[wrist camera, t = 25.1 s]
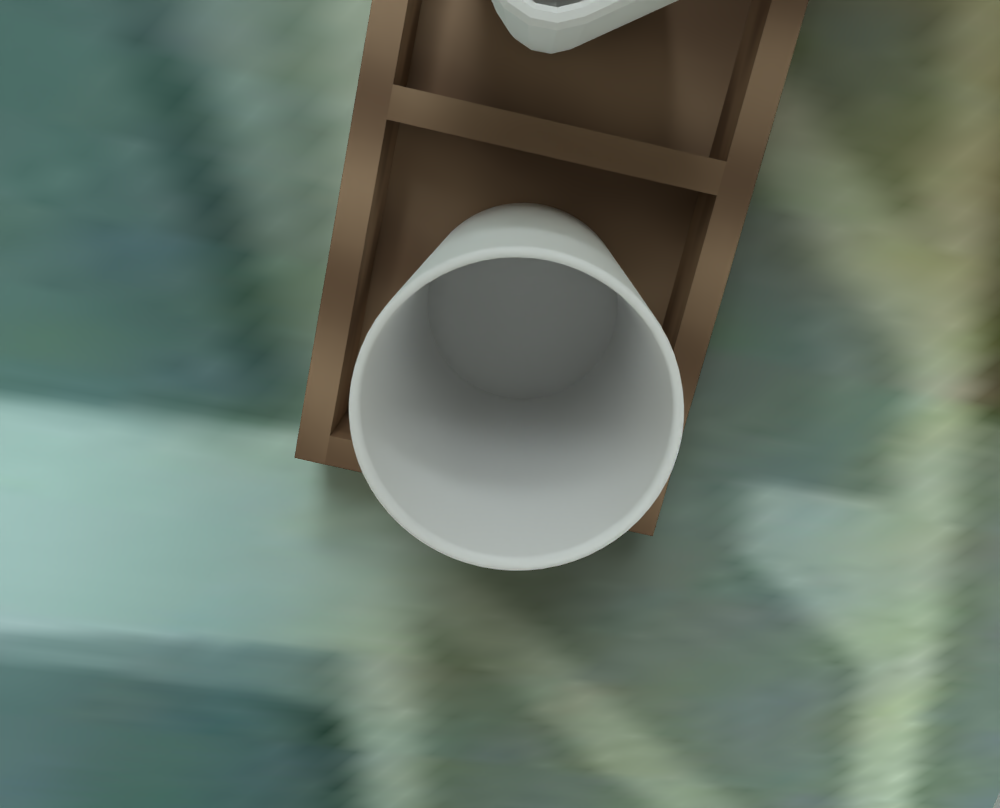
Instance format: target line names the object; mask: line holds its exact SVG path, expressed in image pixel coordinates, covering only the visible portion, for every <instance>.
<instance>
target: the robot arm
mask: <svg viewBox="0 0 1000 808" xmlns="http://www.w3.org/2000/svg"><path fill="white" fill-rule="evenodd" d="M993 808H1000V793H999V795H998V797H997V800H996V802H995V804H994V807H993Z"/></svg>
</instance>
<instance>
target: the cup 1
mask: <svg viewBox="0 0 1000 808" xmlns="http://www.w3.org/2000/svg"><path fill="white" fill-rule="evenodd" d="M491 1H492V3H493V5H494V7H495V10H496V12H497V14H498V15H499V17H500V18H501V20H502V22H503V23H504V25H505V26H506V28H507V29H508V31H509V32H510V34H511V35H512V36H513V37H514V38H515V39H516V40H518V41H519V42H520V43H522V44H523V45H525V46H526V47H528V48H529V49H531V50H534V51H539V52H544V53H549V54H553V53H557V52H561V51H566V50H570V49H573V48H575V47H577V46H579V45H581V44H584V43H586V42H588V41H590V40H592V39H595V38H597V37H599V36H601V35H603V34H606V33H608V32H610V31H612V30H614V29H616V28H619V27H621V26H623V25H625V24H627V23H630V22H632V21H634V20H636V19H638V18H641V17H643V16H645V15H647V14H649V13H651V12H654V11H656V10H658V9H660V8H662V7H665V6H667V5H669V4H671V3H673V2H676V1H678V0H491Z"/></svg>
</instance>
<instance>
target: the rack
mask: <svg viewBox="0 0 1000 808" xmlns="http://www.w3.org/2000/svg"><path fill="white" fill-rule="evenodd" d="M808 1H809V0H678V1H676V2H673V3H671V4H669V5H667V6H665V7H662V8H660V9H658V10H656V11H654V12H651V13H649V14H647V15H645V16H643V17H641V18H638V19H636V20H634V21H632V22H630V23H627V24H625V25H623V26H621V27H619V28H616V29H614V30H612V31H610V32H608V33H606V34H603V35H601V36H599V37H597V38H595V39H592V40H590V41H588V42H586V43H584V44H581V45H579V46H577V47H575V48H573V49H570V50H566V51H561V52H557V53H553V54H549V53H544V52H539V51H534V50H531V49H529V48H528V47H526V46H525V45H523V44H522V43H520V42H519V41H518V40H516V39H515V38H514V37H513V36H512V35H511V34H510V32H509V31H508V29H507V28H506V26H505V25H504V23H503V22H502V20H501V18H500V17H499V15H498V14H497V12H496V10H495V7H494V5H493V3H492V1H491V0H372V4H371V10H370V16H369V22H368V27H367V33H366V39H365V45H364V51H363V57H362V63H361V69H360V75H359V80H358V86H357V92H356V98H355V104H354V110H353V116H352V122H351V128H350V133H349V139H348V145H347V151H346V157H345V163H344V169H343V175H342V181H341V187H340V192H339V198H338V204H337V210H336V216H335V222H334V228H333V234H332V240H331V245H330V251H329V257H328V263H327V269H326V275H325V281H324V287H323V293H322V298H321V304H320V310H319V316H318V322H317V328H316V334H315V340H314V346H313V352H312V357H311V363H310V369H309V375H308V381H307V387H306V393H305V399H304V405H303V410H302V416H301V422H300V428H299V434H298V440H297V446H296V452H295V458H298V459H303V460H307V461H312V462H316V463H321V464H325V465H330V466H335V467H339V468H344V469H348V470H353V471H357V472H362V470H361V468H360V465H359V463H358V460H357V457H356V454H355V450H354V447H353V442H352V437H351V432H350V422H349V395H350V387H351V380H352V376H353V371H354V367H355V364H356V361H357V358H358V355H359V352H360V349H361V346H362V344H363V342H364V340H365V337H366V335H367V333H368V331H369V330H370V328H371V326H372V325H373V323H374V321H375V320H376V318H377V317H378V315H379V314H380V313H381V311H382V310H383V309H384V307H385V306H386V305H387V304H388V302H389V301H390V300H391V299H392V298H393V297H394V296H395V294H396V293H397V292H398V291H399V290H400V289H401V288H402V286H403V285H404V284H405V283H406V282H407V281H408V280H409V279H410V277H411V276H412V275H413V274H414V273H415V272H416V271H417V270H418V268H419V267H420V266H421V265H422V264H423V263H424V262H425V261H426V260H427V258H428V257H429V256H430V255H431V254H432V253H433V252H434V251H435V249H436V248H437V247H438V246H439V245H440V244H441V243H442V242H443V240H444V239H445V238H446V237H447V236H448V235H449V234H450V233H451V232H452V231H453V230H454V229H455V228H456V227H457V226H458V225H460V224H461V223H462V222H464V221H465V220H467V219H468V218H470V217H472V216H473V215H475V214H477V213H479V212H481V211H484V210H486V209H489V208H492V207H495V206H499V205H504V204H511V203H535V204H541V205H546V206H550V207H553V208H556V209H559V210H562V211H564V212H566V213H568V214H570V215H572V216H574V217H575V218H577V219H578V220H580V221H582V222H583V223H584V224H585V225H587V226H588V227H589V228H590V229H591V230H592V231H593V232H594V233H595V234H597V236H598V237H599V238H600V239H601V240H602V242H603V243H604V244H605V246H606V247H607V249H608V250H609V251H610V253H611V254H612V256H613V257H614V259H615V260H616V261H617V263H618V264H619V266H620V267H621V269H622V270H623V271H624V273H625V274H626V276H627V277H628V279H629V280H630V281H631V283H632V284H633V286H634V287H635V289H636V290H637V291H638V293H639V294H640V296H641V297H642V299H643V300H644V302H645V303H646V304H647V306H648V307H649V309H650V310H651V312H652V313H653V315H654V316H655V318H656V319H657V321H658V322H659V324H660V325H661V327H662V329H663V331H664V332H665V334H666V336H667V338H668V340H669V342H670V345H671V347H672V350H673V352H674V355H675V358H676V361H677V365H678V368H679V372H680V378H681V383H682V389H683V399H684V423H683V430H684V427H685V424H686V420H687V417H688V413H689V410H690V406H691V403H692V400H693V396H694V393H695V389H696V386H697V382H698V379H699V376H700V372H701V369H702V365H703V362H704V358H705V355H706V351H707V348H708V345H709V341H710V338H711V334H712V331H713V327H714V324H715V321H716V317H717V314H718V310H719V307H720V303H721V300H722V297H723V293H724V290H725V286H726V283H727V279H728V276H729V272H730V269H731V266H732V262H733V259H734V255H735V252H736V248H737V245H738V242H739V238H740V235H741V231H742V228H743V224H744V221H745V218H746V214H747V211H748V207H749V204H750V200H751V197H752V193H753V190H754V187H755V183H756V180H757V176H758V173H759V169H760V166H761V163H762V159H763V156H764V152H765V149H766V145H767V142H768V139H769V135H770V132H771V128H772V125H773V121H774V118H775V114H776V111H777V108H778V104H779V101H780V97H781V94H782V90H783V87H784V84H785V80H786V77H787V73H788V70H789V66H790V63H791V60H792V56H793V53H794V49H795V46H796V42H797V39H798V35H799V32H800V29H801V25H802V22H803V18H804V15H805V11H806V8H807V5H808ZM682 434H683V431H682ZM671 472H672V471H671ZM670 475H671V473H670ZM669 479H670V476H669V478H668V480H667V482H666V484H665V486H664V487H663V489H662V491H661V493H660V494H659V496H658V497H657V499H656V500H655V501H654V503H653V504H652V506H651V507H650V508H649V509H648V510H647V512H646V513H645V514H644V515H643V516H642V517H641V518H640V520H639V521H637V522H636V523H635V524H634V525H633V526H632V527H631V528H630V529H629V530H628V531H632V532H636V533H641V534H645V535H650V536H653V533H654V530H655V527H656V523H657V520H658V516H659V513H660V509H661V506H662V503H663V499H664V496H665V492H666V489H667V485H668V482H669Z"/></svg>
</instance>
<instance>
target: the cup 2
mask: <svg viewBox="0 0 1000 808" xmlns="http://www.w3.org/2000/svg"><path fill="white" fill-rule="evenodd" d="M349 422H350V432H351V437H352V442H353V447H354V450H355V454H356V457H357V460H358V463H359V465H360V468H361V470H362V473H363V475H364V477H365V479H366V481H367V483H368V485H369V486H370V488H371V490H372V491H373V493H374V494H375V496H376V497H377V499H378V501H379V502H380V503H381V504H382V506H383V507H384V508H385V509H386V511H387V512H388V513H389V514H390V515H391V516H392V517H393V518H394V519H395V520H396V521H397V522H398V523H399V524H400V525H401V526H402V527H403V528H404V529H405V530H407V531H408V532H409V533H410V534H411V535H413V536H414V537H415V538H417V539H418V540H420V541H421V542H423V543H424V544H426V545H427V546H429V547H431V548H433V549H434V550H436V551H438V552H440V553H442V554H444V555H447V556H449V557H451V558H454V559H456V560H459V561H462V562H465V563H468V564H472V565H476V566H480V567H485V568H491V569H498V570H512V571H517V570H536V569H544V568H549V567H554V566H559V565H563V564H566V563H569V562H573V561H576V560H578V559H581V558H583V557H586V556H588V555H590V554H592V553H594V552H596V551H598V550H600V549H602V548H604V547H605V546H607V545H608V544H610V543H612V542H613V541H615V540H616V539H618V538H619V537H620V536H621V535H623V534H624V533H625V532H627V531H628V530H629V529H630V528H631V527H632V526H633V525H634V524H635V523H636V522H637V521H639V520H640V518H641V517H642V516H643V515H644V514H645V513H646V512H647V510H648V509H649V508H650V507H651V506H652V504H653V503H654V501H655V500H656V499H657V497H658V496H659V494H660V493H661V491H662V489H663V487H664V486H665V484H666V482H667V480H668V478H669V476H670V473H671V471H672V469H673V467H674V464H675V461H676V458H677V455H678V452H679V447H680V443H681V438H682V431H683V423H684V399H683V389H682V383H681V378H680V372H679V368H678V365H677V361H676V358H675V355H674V352H673V350H672V347H671V345H670V342H669V340H668V338H667V336H666V334H665V332H664V331H663V329H662V327H661V325H660V324H659V322H658V321H657V319H656V318H655V316H654V315H653V313H652V312H651V310H650V309H649V307H648V306H647V304H646V303H645V302H644V300H643V299H642V297H641V296H640V294H639V293H638V291H637V290H636V289H635V287H634V286H633V284H632V283H631V281H630V280H629V279H628V277H627V276H626V274H625V273H624V271H623V270H622V269H621V267H620V266H619V264H618V263H617V261H616V260H615V259H614V257H613V256H612V254H611V253H610V251H609V250H608V249H607V247H606V246H605V244H604V243H603V242H602V240H601V239H600V238H599V237H598V236H597V234H595V233H594V232H593V231H592V230H591V229H590V228H589V227H588V226H587V225H585V224H584V223H583V222H582V221H580V220H578V219H577V218H575V217H574V216H572V215H570V214H568V213H566V212H564V211H562V210H559V209H556V208H553V207H550V206H546V205H541V204H535V203H511V204H504V205H499V206H495V207H492V208H489V209H486V210H484V211H481V212H479V213H477V214H475V215H473V216H472V217H470V218H468V219H467V220H465V221H464V222H462V223H461V224H460V225H458V226H457V227H456V228H455V229H454V230H453V231H452V232H451V233H450V234H449V235H448V236H447V237H446V238H445V239H444V240H443V242H442V243H441V244H440V245H439V246H438V247H437V248H436V249H435V251H434V252H433V253H432V254H431V255H430V256H429V257H428V258H427V260H426V261H425V262H424V263H423V264H422V265H421V266H420V267H419V268H418V270H417V271H416V272H415V273H414V274H413V275H412V276H411V277H410V279H409V280H408V281H407V282H406V283H405V284H404V285H403V286H402V288H401V289H400V290H399V291H398V292H397V293H396V294H395V296H394V297H393V298H392V299H391V300H390V301H389V302H388V304H387V305H386V306H385V307H384V309H383V310H382V311H381V313H380V314H379V315H378V317H377V318H376V320H375V321H374V323H373V325H372V326H371V328H370V330H369V331H368V333H367V335H366V337H365V340H364V342H363V344H362V346H361V349H360V352H359V355H358V358H357V361H356V364H355V367H354V371H353V376H352V380H351V387H350V395H349Z"/></svg>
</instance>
